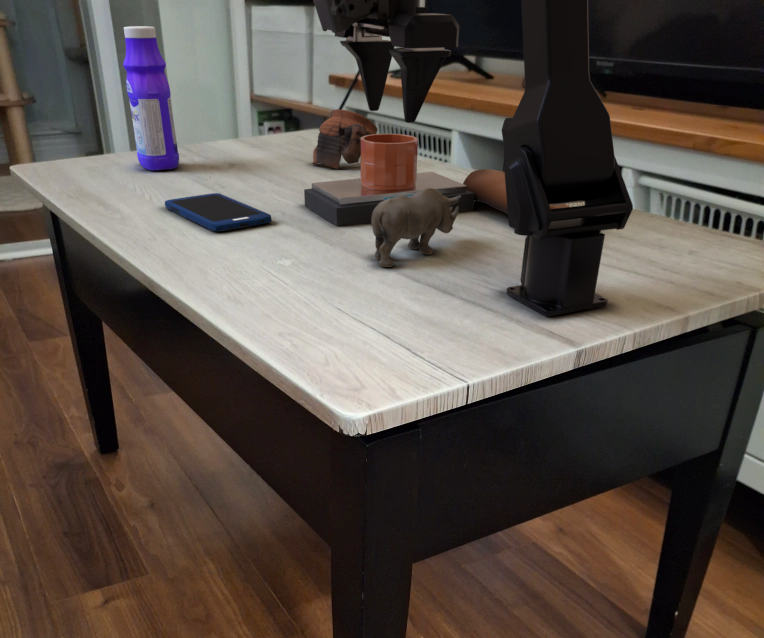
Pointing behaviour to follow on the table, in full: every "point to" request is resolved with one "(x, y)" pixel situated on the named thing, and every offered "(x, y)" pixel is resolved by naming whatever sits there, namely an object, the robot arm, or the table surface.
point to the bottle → (149, 100)
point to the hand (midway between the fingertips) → (391, 116)
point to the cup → (388, 161)
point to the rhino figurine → (411, 221)
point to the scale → (374, 197)
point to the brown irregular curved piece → (341, 138)
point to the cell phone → (217, 212)
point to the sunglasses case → (491, 188)
